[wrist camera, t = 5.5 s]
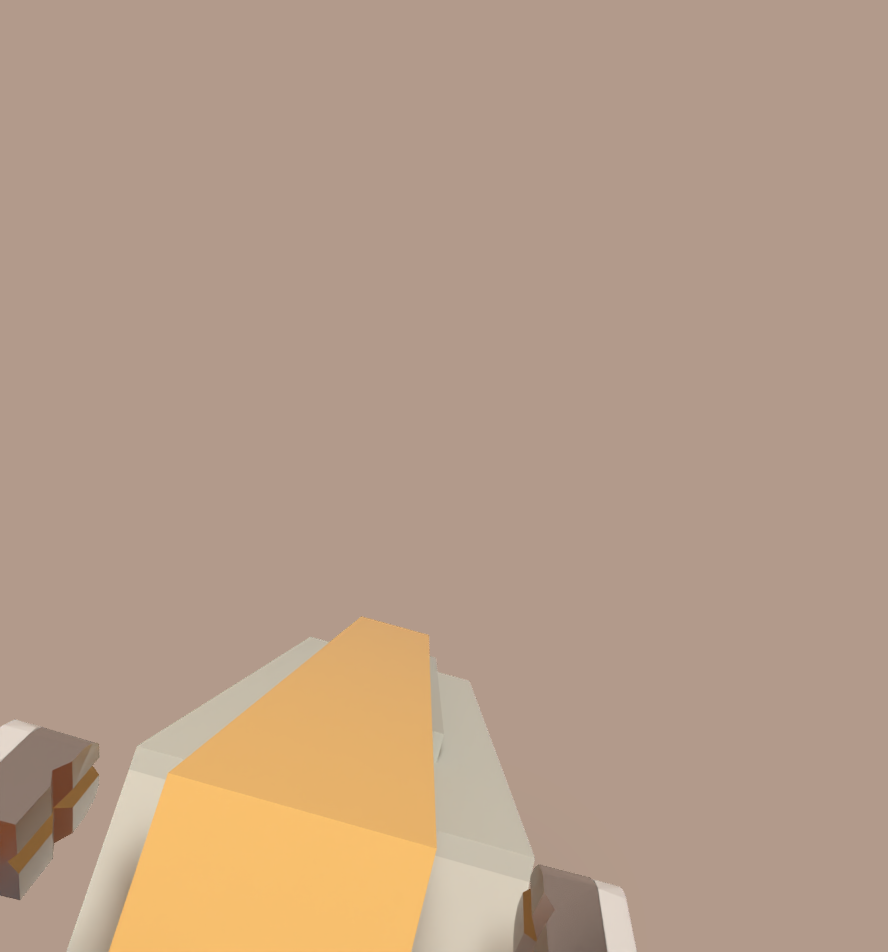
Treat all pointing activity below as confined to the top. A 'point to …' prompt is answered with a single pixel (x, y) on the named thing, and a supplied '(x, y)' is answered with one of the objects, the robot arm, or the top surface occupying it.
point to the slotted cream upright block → (456, 806)
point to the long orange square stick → (300, 814)
